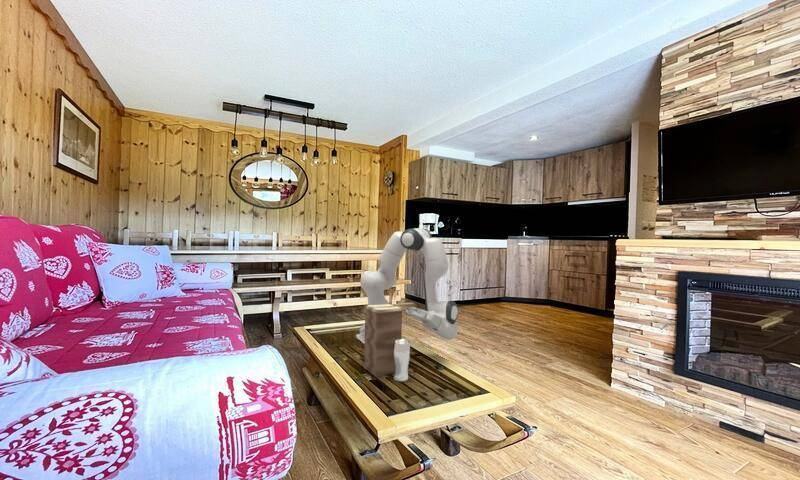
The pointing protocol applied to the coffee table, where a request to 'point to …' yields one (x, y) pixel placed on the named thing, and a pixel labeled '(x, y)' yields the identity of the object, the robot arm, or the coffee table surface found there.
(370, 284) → the robot arm
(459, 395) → the coffee table surface
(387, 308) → the beige t-shaped block
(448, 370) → the coffee table surface
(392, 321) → the stand
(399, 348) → the beer glass
